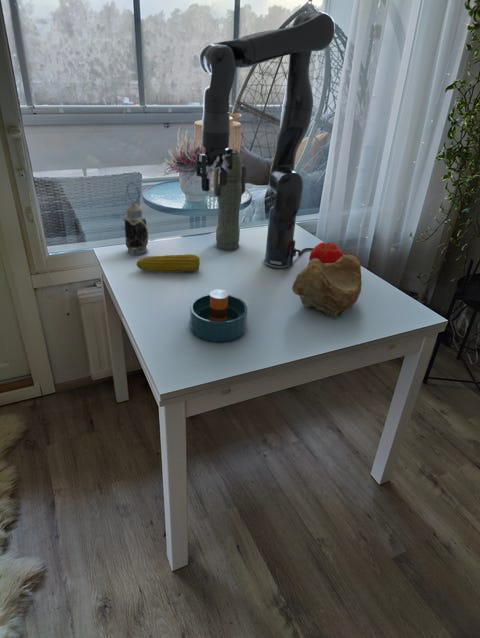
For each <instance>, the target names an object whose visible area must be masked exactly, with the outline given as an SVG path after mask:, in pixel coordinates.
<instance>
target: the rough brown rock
mask: <svg viewBox="0 0 480 638" xmlns="http://www.w3.org/2000/svg"><path fill="white" fill-rule="evenodd" d="M343 255H344V256H342V257H341V258H339V259H338V260H337V261H336V262H334V263H327V264H322V263H321V261H320V260H319V259H317V258H313V259H311V260H310V261H308V264H307V265H306V267H304V269H302V270H301V271H300V272H299V273H298V274H297V275H296V277H295V280H294V281H293V283H292V286H291V287H292V292H293V293H294V294H295V295H297V296H299V298H300V301H301V303H302V306H304V307H305V308H311V307H314V308H315V310H318V311H322V312H323V313H324V314H325V315H326V316H329V317H330V318H331V319H336V318H339V317H341V316H342V315H343V314H344V313H345V312H346V311H348V310H349V309H350V308H351V307H352V306H354V305H355V304H356V303H357V301H358V299H359V297H360V295H361V292H362V268H361V267H362V265H361V263H360V261H359V259H358V257H356V256H355V255H353V254H349V253H348V254H343Z"/></svg>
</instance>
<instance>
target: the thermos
mask: <svg viewBox="0 0 480 638" xmlns="http://www.w3.org/2000/svg"><path fill="white" fill-rule="evenodd" d="M232 150H233V157H232V169H231V170H229V172H228V173H227V185H225V186H222V185H220V184H219V179H220V172H221V171H220V169H219V167H217V168H215V169H214V171H213V173H214V174H213V175H214V177H213V178H214V179H213V194H214V195H213V196H214V197H216V200H217V204H218V209H217V210H218V211H217V226H216V230H215V241H216V244H215V245H216V246H215V247H216V248H217V249H219V250H221V251H228V252H230V251H235V250H238V248H239V242H240V236H241V235H240V234H241V233H240V232H241V229H240V227H239V226H240V208H241V204H242V198H243V195H244V194H245V193H246V181H247V167H246V166H245V165H244V164H243V160H242V155H241V153H240V151H238V150H234V149H232ZM227 164H228V165H229V161H227Z"/></svg>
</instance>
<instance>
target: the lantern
mask: <svg viewBox="0 0 480 638" xmlns="http://www.w3.org/2000/svg"><path fill="white" fill-rule="evenodd" d="M130 184H132V185H134V187H135V188H136V189H137V192H138V193H137V194H138V199H137V201H135V200H134V201H133V200H132V199H131V197H130V194H129V186H130ZM126 191H127V195H128V198H129V200H130V201H131V204H130V205H129V206H128V207H126V213H125V215H124V217H123V219H122V220H123V222H124V232H125V233H124V235H125V246H126V248H127V253H128V254H130V255H132V256H141V255H145V254H147V252H148V248H147V245H148V243H149V232H148V230H149V229H148V227H147V220H146V215H144V214H143V207H141V206H139V205H138V204H137V203H138V202H139V201H140V191H139V188H138V186H137V185H136V184H135V183H134V182H129V183H128V184H127V188H126Z"/></svg>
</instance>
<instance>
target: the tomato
mask: <svg viewBox="0 0 480 638" xmlns="http://www.w3.org/2000/svg"><path fill="white" fill-rule="evenodd" d="M328 243H329V244H328ZM313 248H314V249H313V250H310V254H309V257H308V258H309V259H308V260H309V261H310V260H311V259H313V258H317V259H319V260H320V261H321V263H322V264H327V263H334V262H336V261H337V260H338V259H339V258H341V257H342V256H344V255H345V254H344V252H343V251H342V250H341V249H340V248H339V246H337V244H335V243H333V242H327V243H326V242H323V241H322V242H320V243H318V244H317V245H315V246H314V247H313ZM309 261H308V262H309Z"/></svg>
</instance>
